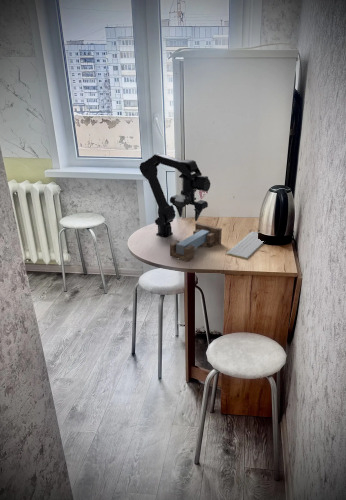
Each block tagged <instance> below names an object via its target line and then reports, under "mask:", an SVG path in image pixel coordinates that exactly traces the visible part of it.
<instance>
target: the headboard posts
mask: <svg viewBox="0 0 346 500" xmlns="http://www.w3.org/2000/svg"><path fill="white" fill-rule="evenodd" d="M194 229H195V230H194V231H192V235H193V234H195V233H197V232H199V231H200V230H202V229H203V230H207V231H210V234H208V235H207V241H206V242H204V243H203V244H201V245H200V246H205V247H208V248H212V247H213V246H215V245H217V246H219V245H221V244H222V236H223V235H222V231H223V228H221V227H217V226H213V225H209V224H205V223H200V222H196V223H195V228H194ZM179 242H180V241H179V240H175V241H173V242H171V243H170V244H169V256H170V257H171V256H172V258H174V259H178V258H179V259H178V260H181V259H182V261H183V262H190V261H192V260H193V259H195V249H194V246H193V245H189V246H188V247H186V248H184V255H181V254H178V253H176V244H177V243H179Z"/></svg>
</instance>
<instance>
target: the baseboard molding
mask: <svg viewBox="0 0 346 500" xmlns="http://www.w3.org/2000/svg"><path fill="white" fill-rule="evenodd" d="M258 233H259V231H255V230H253V229H250V230H249V233H248V234H247V235H246V236H244V237H243V238H242V239H241V240H240V241H239V242H237V243H236V244H235V245H234V246H233V247H231V248H230V249H229V250H228V251H227V252H225V255H228V256H232V257H235V258H239V259H243V260H248V259H249V257H250V256H252V255H253V254H254V253H255V252H256V251H257V250H258V248H260V247H261V246H262V245H263V244H264V243H265V242H264V241H261V240H260V239H258ZM263 242H264V243H263Z"/></svg>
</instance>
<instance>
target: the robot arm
mask: <svg viewBox="0 0 346 500" xmlns="http://www.w3.org/2000/svg"><path fill="white" fill-rule="evenodd" d="M160 164H161V165H163V166H166V167H170V168H174V169H176V170H177V171H178V172H179V173H181V174H180V175H178V178H180V179H182V189H181V190H180V193H179V194H175V195H173V196H170V198H169V203H168V201H167V198H166V195H165V193H164V191H163V188H162V185H161V184H160V181H159V178H158V166H160ZM139 171H140V173H141V174H142V177H144V178H145V179H146V180H147V182H148V183H149V187H150V189H151V191H152V194H153V197H154V198H155V202H156V203H157V207H158V208H157V216H158V217H157V218H156V219H154V223H155V225H156V226H157V233H156V234H155V235H157V236H160V237H164V238H166V237H169V236H170V235H173V232H172V223H174V220H175V218H176V216H177V215H176V210H177V213H178V217H179V218H181V217H183V209H184V208H185V207H186V206H189V205H191V206H194V208H193V211H194V221H195V222H197V221H198V220H199V217H200V216H201V213H202V212H203V210H205V209H206V208H208V207H209V203H208V201H207V200H206V201H205V200H202V199H200V200H198V201H197V197H195V196H196V195H195V194H196V192H197V191H199V192H200V191H201V192H206V193H207V192H208V191H209V190H210V188H211V181H210V179H209V176H206V175H203V174H202V172H201V170H200V169H199V167H198V164H197V162H196V161H195V160H193V159H179V158H175V157H173V156H170V155H166V154H163V153H161V152H159V153H156V154H153V155H152V156H151V157H150V158H148V159H146V160H145V161H143V162H141V163H140V164H139ZM170 204H171V205H170ZM175 209H176V210H175Z"/></svg>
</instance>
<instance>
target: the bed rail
mask: <svg viewBox="0 0 346 500" xmlns="http://www.w3.org/2000/svg"><path fill="white" fill-rule="evenodd" d="M208 234H210V231H207V230H203V229H202V230H200V231H199V232H197V233H195V234H193V233H192V235H190V236H188V237H187V238H185V239H183V240H181V241H179V243H177V244H176V253H178V254H181V255H184V248H186V247H188V246H189V245H193V246H194V250H195V249H196V248H198V247H199V246H202V245H201V244H203V243H204V242H206V241H207V235H208Z"/></svg>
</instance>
